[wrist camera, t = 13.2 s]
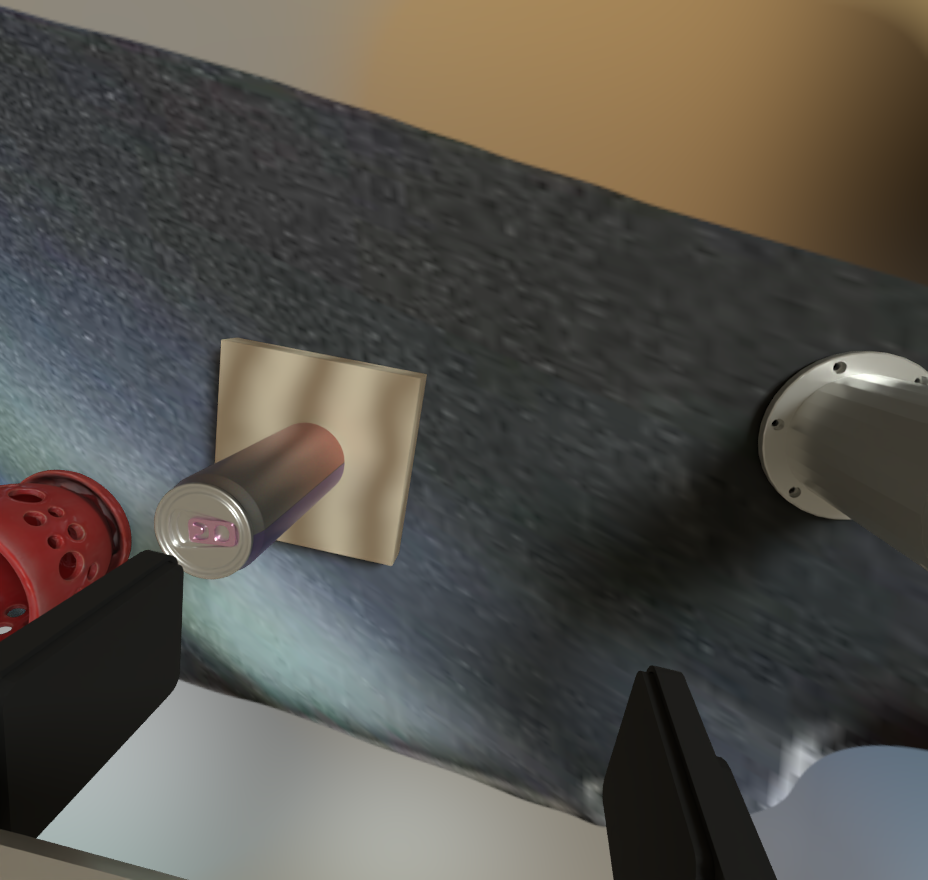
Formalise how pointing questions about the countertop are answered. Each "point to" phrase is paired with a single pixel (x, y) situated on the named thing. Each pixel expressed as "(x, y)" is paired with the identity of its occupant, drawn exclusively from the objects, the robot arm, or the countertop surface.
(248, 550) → the beverage can
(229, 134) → the countertop surface
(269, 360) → the birch board
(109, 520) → the plant pot
